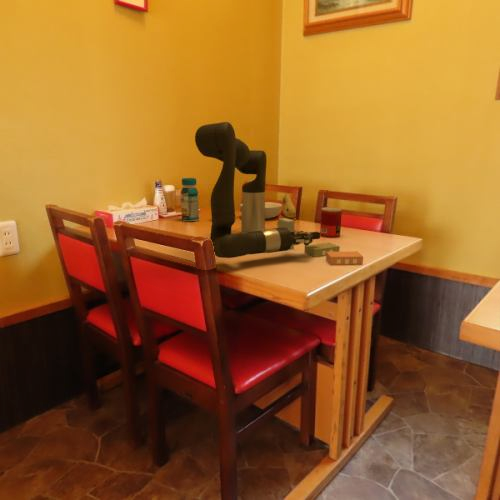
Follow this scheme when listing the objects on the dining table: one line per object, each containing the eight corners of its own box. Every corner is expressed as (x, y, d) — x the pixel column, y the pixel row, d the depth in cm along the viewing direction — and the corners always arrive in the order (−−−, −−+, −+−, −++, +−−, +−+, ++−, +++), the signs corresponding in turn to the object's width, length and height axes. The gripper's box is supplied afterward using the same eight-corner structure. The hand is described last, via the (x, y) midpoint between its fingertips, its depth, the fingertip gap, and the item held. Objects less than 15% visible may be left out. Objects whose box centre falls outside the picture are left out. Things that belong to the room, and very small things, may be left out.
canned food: (340, 238, 161) (341, 210, 158) (319, 237, 163) (320, 209, 160) (340, 234, 168) (341, 207, 166) (320, 233, 170) (321, 206, 167)
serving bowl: (289, 217, 208) (289, 203, 206) (268, 223, 190) (268, 208, 189) (254, 213, 218) (254, 200, 216) (231, 219, 201) (231, 205, 199)
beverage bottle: (198, 222, 193) (196, 179, 188) (180, 222, 193) (178, 179, 188) (200, 218, 201) (199, 177, 196) (183, 218, 201) (181, 177, 196)
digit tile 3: (331, 257, 125) (363, 256, 125) (326, 251, 131) (357, 251, 132) (330, 266, 126) (362, 266, 126) (325, 260, 132) (356, 260, 132)
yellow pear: (289, 231, 173) (290, 196, 169) (274, 227, 182) (275, 193, 178) (302, 230, 176) (303, 195, 172) (287, 225, 185) (288, 192, 181)
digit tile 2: (315, 249, 134) (340, 246, 138) (304, 245, 139) (328, 242, 143) (315, 258, 134) (339, 255, 139) (304, 254, 140) (328, 250, 144)
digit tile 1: (286, 249, 144) (287, 221, 141) (277, 246, 149) (278, 218, 146) (294, 248, 145) (294, 221, 142) (284, 245, 150) (285, 218, 148)
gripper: (284, 232, 123) (331, 227, 130) (263, 224, 134) (307, 220, 142) (284, 256, 124) (330, 250, 132) (263, 247, 136) (307, 241, 143)
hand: (318, 235), depth 137 cm, fingers closed
